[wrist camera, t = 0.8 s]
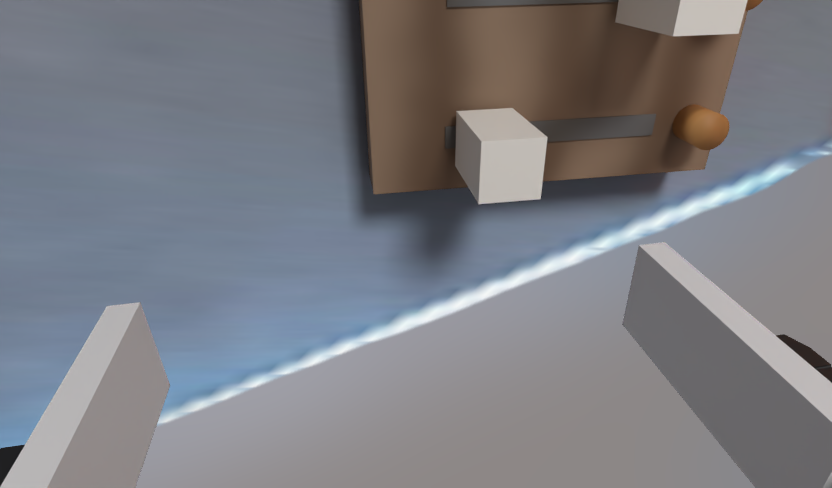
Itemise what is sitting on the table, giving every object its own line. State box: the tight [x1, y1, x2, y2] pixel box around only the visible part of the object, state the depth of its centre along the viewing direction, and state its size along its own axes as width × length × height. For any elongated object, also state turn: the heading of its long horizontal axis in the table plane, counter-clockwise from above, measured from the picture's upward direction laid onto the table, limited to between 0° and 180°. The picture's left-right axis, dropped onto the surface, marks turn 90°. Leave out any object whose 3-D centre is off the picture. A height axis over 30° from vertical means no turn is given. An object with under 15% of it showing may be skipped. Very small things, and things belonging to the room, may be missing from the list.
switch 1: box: [455, 108, 548, 204], centre depth 26 cm, size 3×3×5 cm
